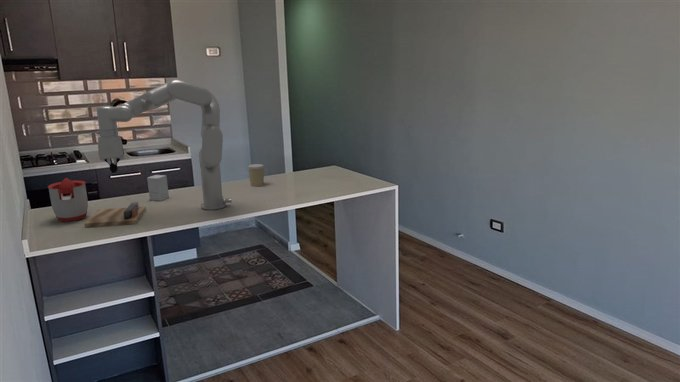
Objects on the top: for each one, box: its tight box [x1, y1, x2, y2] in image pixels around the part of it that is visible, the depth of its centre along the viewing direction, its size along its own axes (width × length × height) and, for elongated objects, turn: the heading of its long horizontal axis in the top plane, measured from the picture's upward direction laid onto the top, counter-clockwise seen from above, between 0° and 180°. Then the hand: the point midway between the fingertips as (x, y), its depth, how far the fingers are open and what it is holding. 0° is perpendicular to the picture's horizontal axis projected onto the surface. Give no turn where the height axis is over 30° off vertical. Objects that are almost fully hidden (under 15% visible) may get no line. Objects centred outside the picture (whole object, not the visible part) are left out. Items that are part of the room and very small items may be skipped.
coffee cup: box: [247, 163, 265, 188], centre depth 287 cm, size 9×9×12 cm
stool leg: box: [123, 201, 140, 219], centre depth 228 cm, size 18×3×3 cm, turn 10°
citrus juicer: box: [47, 177, 89, 223], centre depth 226 cm, size 16×17×20 cm
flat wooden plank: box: [83, 206, 147, 229], centre depth 227 cm, size 22×22×6 cm
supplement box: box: [146, 174, 170, 202], centre depth 259 cm, size 7×7×13 cm
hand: (114, 172), depth 224 cm, fingers closed
